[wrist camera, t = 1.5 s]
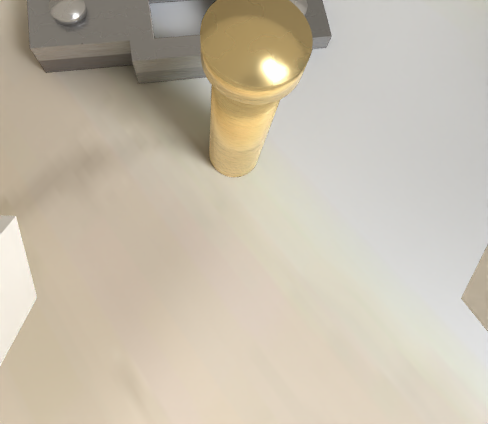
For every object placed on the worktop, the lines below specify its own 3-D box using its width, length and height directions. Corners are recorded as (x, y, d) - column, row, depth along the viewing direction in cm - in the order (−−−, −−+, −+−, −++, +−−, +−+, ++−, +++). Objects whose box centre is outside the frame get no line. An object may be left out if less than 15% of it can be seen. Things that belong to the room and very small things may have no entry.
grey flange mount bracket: (308, -24, 36) (319, -59, 33) (330, 65, 34) (345, 37, 31) (40, -8, 33) (21, -45, 29) (47, 92, 31) (27, 64, 27)
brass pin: (259, 121, 32) (300, -15, 18) (270, 179, 31) (323, 80, 17) (197, 128, 31) (192, -8, 18) (206, 188, 30) (209, 92, 17)
